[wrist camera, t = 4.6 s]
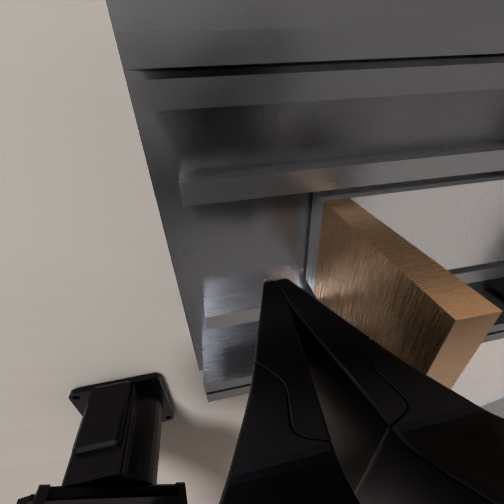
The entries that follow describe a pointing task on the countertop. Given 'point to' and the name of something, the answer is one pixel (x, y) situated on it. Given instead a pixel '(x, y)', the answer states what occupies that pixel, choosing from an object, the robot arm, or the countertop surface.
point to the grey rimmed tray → (298, 135)
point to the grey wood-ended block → (410, 264)
